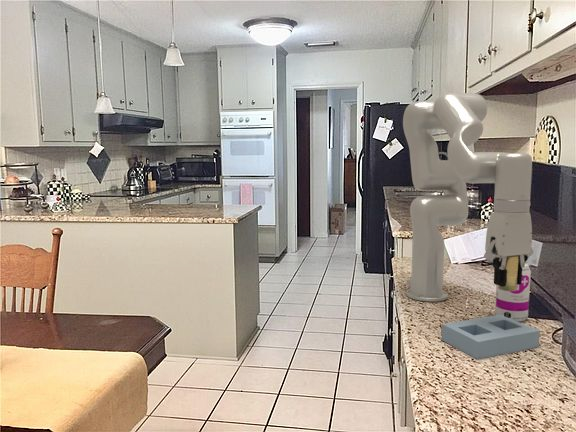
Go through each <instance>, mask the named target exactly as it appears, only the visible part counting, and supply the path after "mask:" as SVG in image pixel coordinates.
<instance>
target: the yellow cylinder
mask: <svg viewBox="0 0 576 432" xmlns="http://www.w3.org/2000/svg"><path fill="white" fill-rule="evenodd" d="M500 260H501V258H499V261H500ZM518 260H519V256H509V257H507V259H506V264H505V270H507V276H506V286H505V287H502V286H499V285H498V289H500V290H504V291H516V290H517V276H518Z"/></svg>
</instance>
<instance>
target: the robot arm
mask: <svg viewBox="0 0 576 432" xmlns="http://www.w3.org/2000/svg"><path fill="white" fill-rule="evenodd" d="M487 114H488V104H487V101H486V100H485V97H483V96H482V94H480V93H479V94H478V93H474V92H473V93H471V92H470V93H469V92H448V93H445V94H444V93H443V94H441V95H440V96H438V97H437V98H436V99H435V100H418V101H414V102H412V103H409V104H408V105H407V106H406V108H405V110H404V113H403V116H402V117H403V119H402V128H403V132H404V136H405V139H406V142H407V145H408V148H409V149H408V150H409V159H410V161H409V162H410V169H411V170H410V171H411V179H412V184H413V187H414V189H415V190H417V191H422V192H440V191H441V192H444V194H427V195H420V196H418V197H416V198H414V199H412V202H411V203H410V207H409V213H410V215H409V216H410V220H411V228H412V230H411V231H412V232H411V233H412V234H411V235H412V242H411V243H412V244H411V245H412V246H411V247H412V248H411V274H410V275H411V277H410V278H408V279H407V280H406V284H409V288H408V289H406V291H405V295H406V297H408V298H409V299H412V300H416V301H420V302H430V303H431V302H432V303H434V302H442V301H446V300H447V299H448V298H449V295H448V292H447V291H445V290H443V289H444V267H445V265H444V264H445V262H444V261H445V239H444V236H443V235H442V233H441V231H440V230H439V228H438V227H446V226H450V227H451V226H459V225H462V224H464V223H465V222H466V221H467V219H468V216H469V199H468V191H467V190H468V189H467V184H494V197H493V199H494V201H493V212H491V213H490V215H489V218H488V223H487V227H486V235H485V244H484V245H485V246H484V248H485V249H484V250H485V251H484V252H485V253H484V254H483V258H484V259H485V260H487V261H488V262H489V263H490V264H491V266H492V268H494V269H493V284H494V285H496V286H497V285H499V286H502V287H505V286H506V276H507V270H505V264H506V259H507V257H509V256H519V260H518V276H517V284H518V285H520V284H521V283H522V268H523V267H524V266H525V263H526V262H527V261H528V259H529V258H530V257H531V256H532V255H533V254H534V250H533V247H532V244H533V225H532V217H531V212H530V206H531V204H532V203H531V186H532V174H533V173H532V171H533V158H532V155H531V154H529V153H526V152H525V153H523V152H503V151H498V152H497V151H496V152H495V151H492V152H491V151H483V152H482V151H478V152H477V151H476V152H474V151H471V150H470V149H469V148H468V147H470V146H471V145H474V144H475V143H476V142H477V141H478V140H479V139H480V138H481V136H482V134H483V132H484V124H483V121H484V120H485V119H486V116H487ZM428 130H445V133H446V134H447V135H448V137H449V138H450V139H449V142H448V143H447V144H448V145H447V153H446V155H447V159H445V160H444V159H440V155H439V147H438V144H437V141H436V140H435V138H434V137H433V136H432V135H431V133H430V132H428ZM500 258H501V260H500Z"/></svg>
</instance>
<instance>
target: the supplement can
mask: <svg viewBox="0 0 576 432" xmlns="http://www.w3.org/2000/svg"><path fill="white" fill-rule="evenodd" d="M530 268H531V267H530V265H529V263H526V262H525V266H524V267H523V268H522V283H521V284H520V285H518V284H517V290H516V291H504V290H500V289H498V285H496V289H495V291H496V292H495V306H494V307H495V308H494V309H495V310H494V315H502V316H505V317H507V318H510V319H512V320H515V321H517V322H520V323H522V322H525V321H526V320H527V319H528V318H529V306H530V293H531V291H530V289H531V274H532V270H531V269H530Z"/></svg>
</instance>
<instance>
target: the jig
mask: <svg viewBox="0 0 576 432" xmlns="http://www.w3.org/2000/svg"><path fill="white" fill-rule="evenodd" d="M540 332H541V330H539V329H538V328H534V327H532V326H530V325H528V324H525V323H522V322H517V321H515V320H512V319H510V318H507V317H505V316H502V315H496V314H494V315H491V316H483V317H478V318H471V319H465V320H459V321H458V320H457V321H454V322H451V321H450V322H445V323H441V341H443V342H444V343H446V344H448V345H449V346H452V347H453V348H456V349H458V350H459V351H461V352H463V353H464V354H467V355H468V356H470V357H472V358H474V359H476V360H481V359H486V358H492V357H497V356H502V355H506V354H511V353H518V352H522V351H527V350H531V349H536V348H540V336H541V335H540V334H541V333H540Z"/></svg>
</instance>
